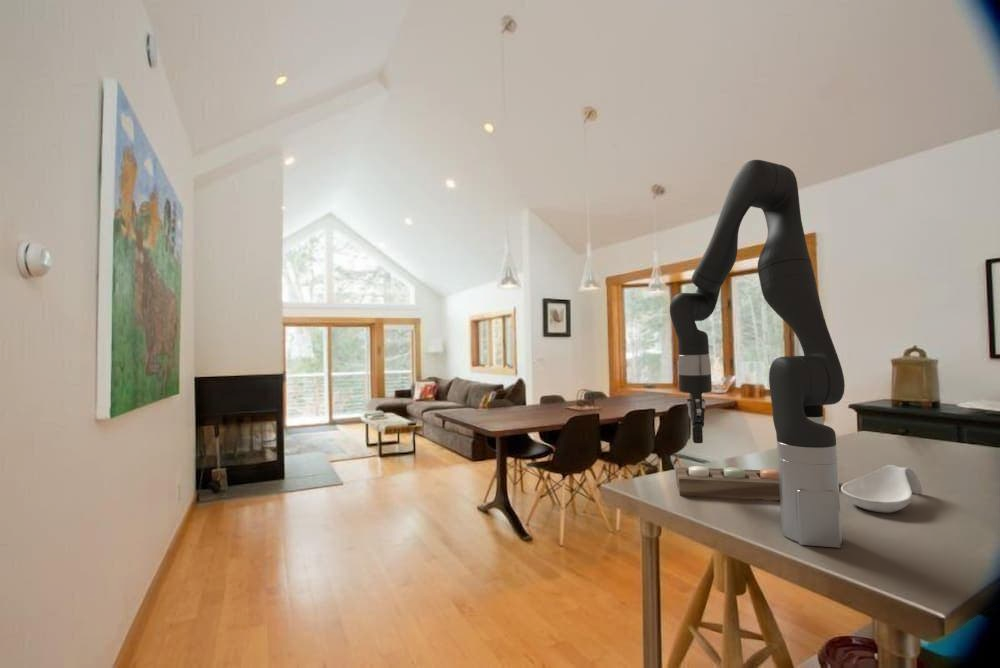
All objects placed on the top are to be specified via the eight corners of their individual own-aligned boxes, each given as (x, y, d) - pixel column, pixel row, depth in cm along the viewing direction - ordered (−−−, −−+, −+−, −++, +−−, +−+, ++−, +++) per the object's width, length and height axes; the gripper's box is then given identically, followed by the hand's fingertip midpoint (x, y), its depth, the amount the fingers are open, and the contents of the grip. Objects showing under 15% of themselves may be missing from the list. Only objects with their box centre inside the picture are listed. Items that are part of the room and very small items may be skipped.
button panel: (804, 502, 104) (803, 484, 104) (679, 495, 111) (679, 478, 111) (789, 487, 114) (788, 471, 114) (676, 482, 122) (675, 467, 122)
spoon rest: (900, 523, 91) (897, 486, 91) (831, 507, 101) (829, 473, 101) (941, 499, 103) (939, 466, 103) (877, 486, 113) (875, 457, 113)
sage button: (747, 484, 110) (746, 472, 110) (726, 483, 111) (725, 471, 111) (743, 479, 114) (742, 467, 114) (722, 478, 116) (722, 467, 116)
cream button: (710, 483, 112) (710, 471, 112) (690, 482, 113) (689, 470, 113) (707, 477, 116) (707, 466, 117) (688, 477, 118) (687, 465, 118)
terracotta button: (785, 486, 107) (785, 474, 108) (763, 485, 109) (762, 473, 109) (779, 480, 112) (779, 469, 112) (758, 479, 113) (758, 468, 113)
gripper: (714, 374, 108) (718, 449, 108) (707, 370, 121) (710, 437, 121) (680, 375, 111) (683, 448, 110) (676, 371, 123) (679, 436, 123)
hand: (697, 442), depth 115 cm, fingers closed
